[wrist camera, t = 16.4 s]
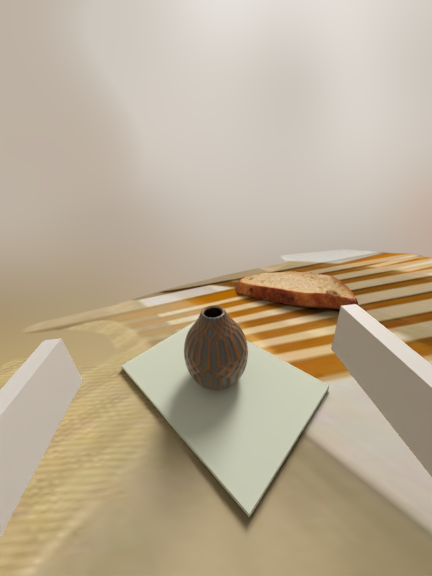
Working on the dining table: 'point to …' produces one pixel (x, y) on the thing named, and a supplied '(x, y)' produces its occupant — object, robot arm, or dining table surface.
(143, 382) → the mat
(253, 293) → the slice of bread
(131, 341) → the dining table surface
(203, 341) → the vase
